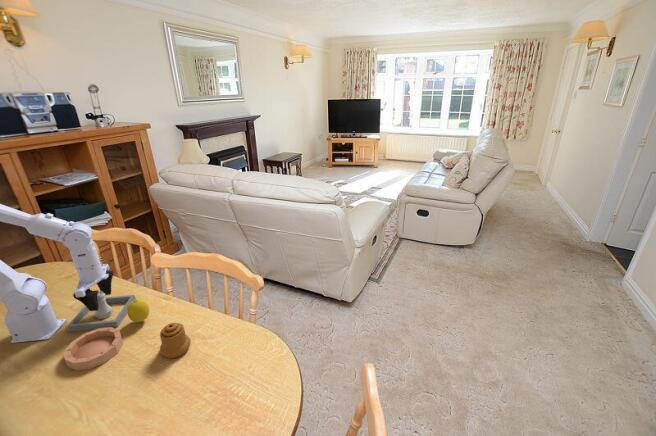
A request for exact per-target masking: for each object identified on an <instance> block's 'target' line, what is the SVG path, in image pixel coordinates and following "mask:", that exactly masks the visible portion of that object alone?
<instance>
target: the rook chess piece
mask: <svg viewBox="0 0 656 436" xmlns="http://www.w3.org/2000/svg"><path fill="white" fill-rule="evenodd" d="M104 297H106V295H105V293H103V292H102V291H100V290H98V294H97V301H98V305H99V309H98V310H97V311H94V313H95V314H94V315H95V318H97V319H99V320H100V319H101V320H102V319H103V320H104V319H107V318H108V317H110V316H111V315H112V314H113V313H114V310H113V308H112V306H110V304H107V303H106V301H105V299H106V298H104Z"/></svg>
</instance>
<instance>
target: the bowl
mask: <svg viewBox="0 0 656 436" xmlns="http://www.w3.org/2000/svg"><path fill="white" fill-rule="evenodd" d="M123 345H124V342H123V338H122V335H121V331H120V330H119V329H117V328H116V327H108V328H98V329H93V330H89V331H88V332H85V333H83V334H81V335H80V336H79V337H77V338H75V339H74V340H73V341H71V342H70V343H69V345H68V346H67V347H66V348H65V350H64V352H63V353H64V354H63V355H64V357H63V358H64V362H65V363H66V366H67V367H68V368H69V369H72V370H74V371H83V370H84V371H85V370H91V369H94V368H95V367H96V368H97V367H98V366H101V365H103V364H106V363H107V362H108V361H110V360H111V359H112V358H113V357H114V356H117V355H118V353H119V352H120V350H121V348H123Z"/></svg>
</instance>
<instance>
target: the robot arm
mask: <svg viewBox="0 0 656 436" xmlns="http://www.w3.org/2000/svg"><path fill="white" fill-rule="evenodd" d="M0 222H1V223H5V224H11V225H14V226H18V227H22V228H25V229H26V231H27V232H28V234H30V235H33V236H34V235H35V236H38V237H41V238H44V239H45V238H46V239H48V240H52V241H56V242H61V243H62V245H63V246H64V247H65V248H68V249H69V252H70V256H71V259H72V261H73V264H74V267H75V270H76V273H77V276H78V277H79V281H78V282H77V286H76V288H75V290H73V294H72V296H73V298H74V300H77V301H79V302H80V303H82V304H83V305H84V306H86V307H87V308H88V309H89V310H90V311H89V312H96V311H97V310H98V309H99V305H98V301H97V294H98V291H99V292H100V291H102V292H103V293H105V296H110V295H111V294H112V282H113V281H112V280H113V277H114V271H113V270H110V265H109V263H105V264H104V263H103V264H101V261H100V256H99V255H98V251H97V248H96V246H95V242H94V241H93V238H92V236H93V229H92V227H91V226H90V225H88V224H87V223H85V222H83V221H76V222H75V221H72V220H70V221H67V220H65V219H61V218H58V217H55V216H54V214H53V213H50V212H47V213H46V214H44V213H42V212H41V213H37V214H30V213H27V212H24V211H22V210H18V209H16V208H13V207H10V206H8V205H4V204H2V203H0ZM95 285H96V286H97V287H98V288H99V290H98V289H97V290H96V289H95V290H92V289H90V288H92V287H93V286H95ZM47 288H48V284H47V283H46V281H44V280H43V279H41V278H38V277H34V276H32V275H31V274H29V273H27V272H18V271H16V270H15V269H13V268H12V267H11V266H10V265H8V264H6V262H4V261H2V260H1V259H0V303H3V304H4V305H5V309H6V310H7V312H6V313H5V316H4V324H5V327H6V328H7V330H8V332H9V334H10V336H11V337H12V340H10V343H12V344H15V343H23V342H33V341H43V340H50V339H51V338H52V337H53V336H54V335H55V333H56V332H57V331H58V330H59V329H60V328H61V327H62V326H63V324H64V323H66V321H67V319H66V318H61V319H57V316H56V314H55V311H54V309H53V307H52V304H51V301H50V299H49V298H48V296H47V295H46V294H45V292H46V291H47Z"/></svg>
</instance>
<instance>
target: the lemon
mask: <svg viewBox="0 0 656 436" xmlns="http://www.w3.org/2000/svg"><path fill="white" fill-rule="evenodd" d="M126 315H127V316H128V318H129V319H130V320H131V321H132V322H135V323H142V322H143V321H145V320H146V319H147V318H148V317H149V315H150V307H149V304H148V303H147V301H146V300H145V299H140V298H138V299H137V298H136V300H134V301H132V302H131V303H130V304H129V306H128V308H127V314H126Z"/></svg>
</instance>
